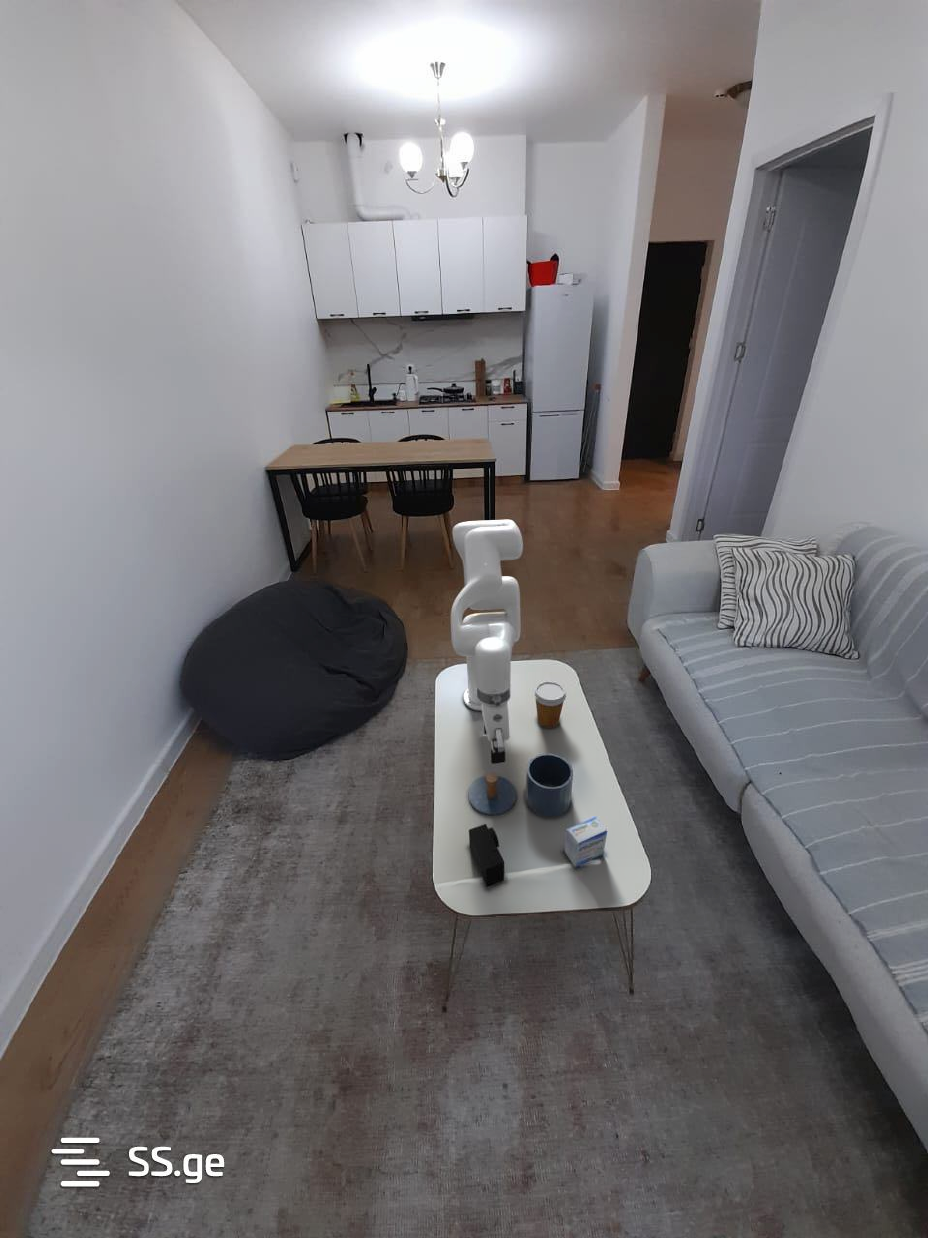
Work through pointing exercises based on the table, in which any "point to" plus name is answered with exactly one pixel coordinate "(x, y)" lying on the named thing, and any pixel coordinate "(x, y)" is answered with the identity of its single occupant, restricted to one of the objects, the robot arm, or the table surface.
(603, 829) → the medicine box
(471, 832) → the digital camera
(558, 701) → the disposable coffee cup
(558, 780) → the cup
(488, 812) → the lid
